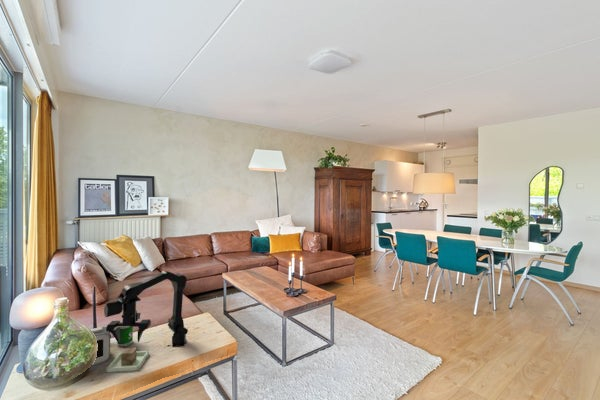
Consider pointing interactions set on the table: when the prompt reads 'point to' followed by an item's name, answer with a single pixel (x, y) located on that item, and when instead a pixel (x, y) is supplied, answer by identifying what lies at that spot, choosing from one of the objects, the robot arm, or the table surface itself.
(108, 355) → the alarm clock
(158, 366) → the table surface
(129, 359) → the walnut block
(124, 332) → the soda can
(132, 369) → the tray
